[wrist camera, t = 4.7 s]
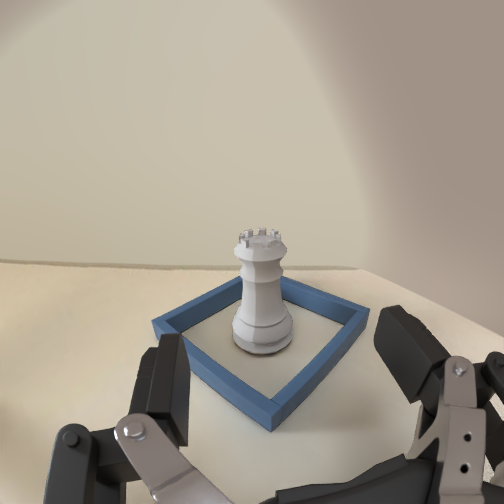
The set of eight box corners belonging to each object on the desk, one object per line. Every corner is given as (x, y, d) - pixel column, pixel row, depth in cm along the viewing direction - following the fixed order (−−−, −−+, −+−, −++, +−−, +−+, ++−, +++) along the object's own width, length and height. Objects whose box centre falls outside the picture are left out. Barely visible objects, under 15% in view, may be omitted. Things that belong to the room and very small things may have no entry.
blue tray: (257, 282, 27) (257, 265, 27) (366, 326, 20) (370, 308, 19) (156, 338, 20) (150, 320, 19) (271, 432, 12) (271, 416, 12)
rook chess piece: (284, 363, 17) (288, 253, 14) (223, 350, 19) (209, 245, 15) (298, 323, 21) (303, 226, 18) (245, 314, 22) (239, 221, 19)
